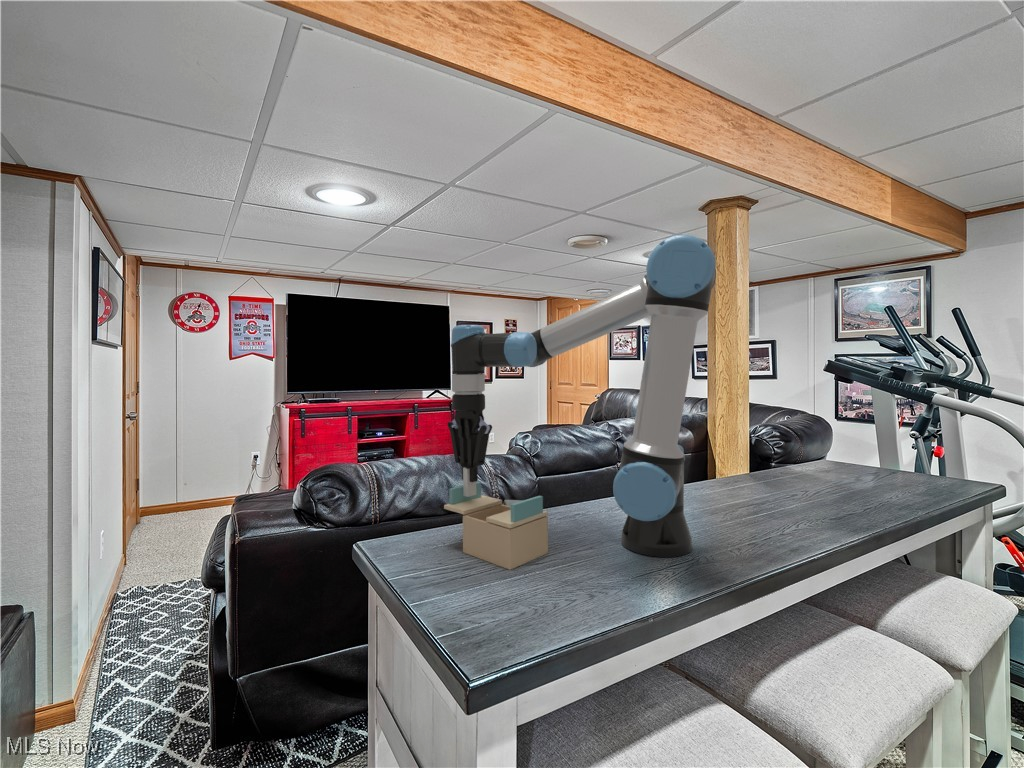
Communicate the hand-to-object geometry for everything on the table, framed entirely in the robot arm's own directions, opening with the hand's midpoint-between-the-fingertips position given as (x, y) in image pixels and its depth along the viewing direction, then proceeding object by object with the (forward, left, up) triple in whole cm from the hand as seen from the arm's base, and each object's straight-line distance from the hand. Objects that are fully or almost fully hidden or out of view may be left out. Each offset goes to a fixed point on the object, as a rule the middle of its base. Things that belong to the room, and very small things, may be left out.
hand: (469, 495), depth 116 cm
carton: (-11, 0, -11) cm, 15 cm away
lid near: (-15, 0, -2) cm, 15 cm away
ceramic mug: (-3, -13, -11) cm, 18 cm away
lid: (-1, 0, -2) cm, 3 cm away
